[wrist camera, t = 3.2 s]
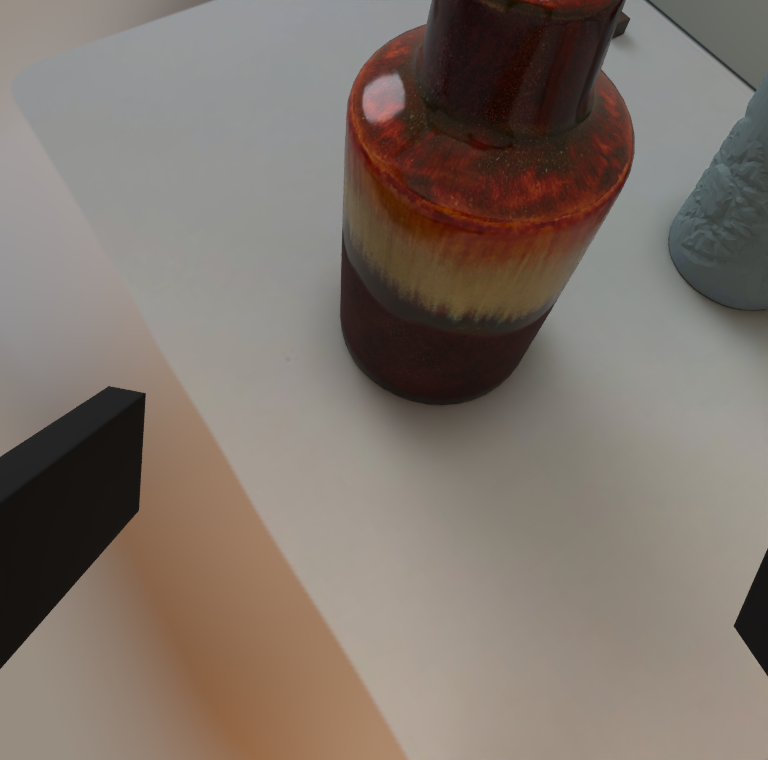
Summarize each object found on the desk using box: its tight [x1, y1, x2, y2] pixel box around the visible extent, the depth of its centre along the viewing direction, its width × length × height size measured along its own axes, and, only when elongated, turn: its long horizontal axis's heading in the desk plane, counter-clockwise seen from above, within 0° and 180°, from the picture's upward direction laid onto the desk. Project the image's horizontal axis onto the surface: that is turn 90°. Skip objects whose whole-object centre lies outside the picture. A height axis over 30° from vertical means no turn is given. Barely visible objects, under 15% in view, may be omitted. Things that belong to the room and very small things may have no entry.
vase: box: [340, 0, 635, 405], centre depth 26 cm, size 11×11×20 cm
